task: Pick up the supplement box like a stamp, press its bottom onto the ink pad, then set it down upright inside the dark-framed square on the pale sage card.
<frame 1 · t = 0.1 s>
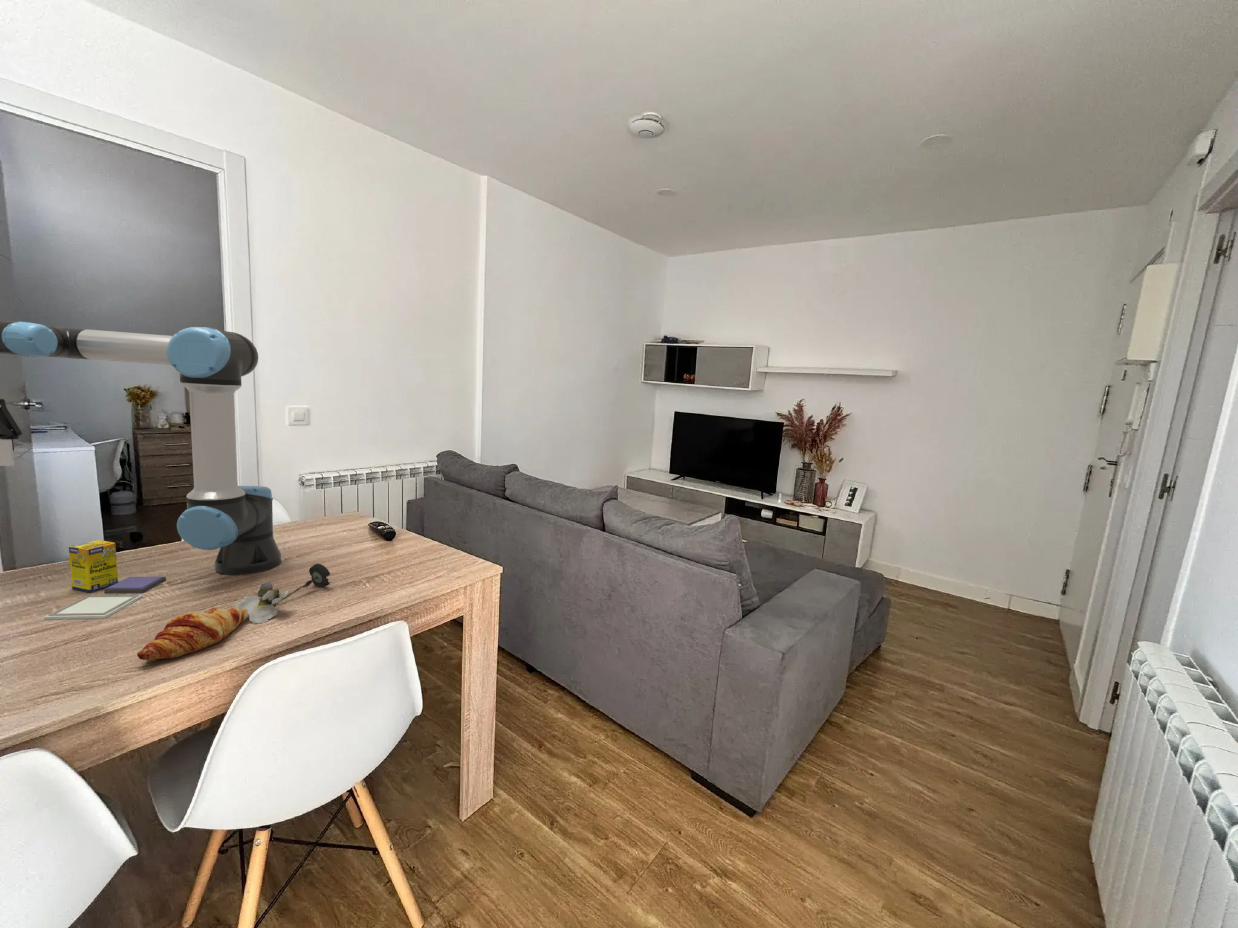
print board: (96, 607, 113), on the table
croissant: (200, 642, 102), on the table, touching artificial flower
artificial flower: (289, 604, 121), on the table, touching croissant
ink pad: (136, 586, 124), on the table
supplement box: (96, 587, 123), on the table
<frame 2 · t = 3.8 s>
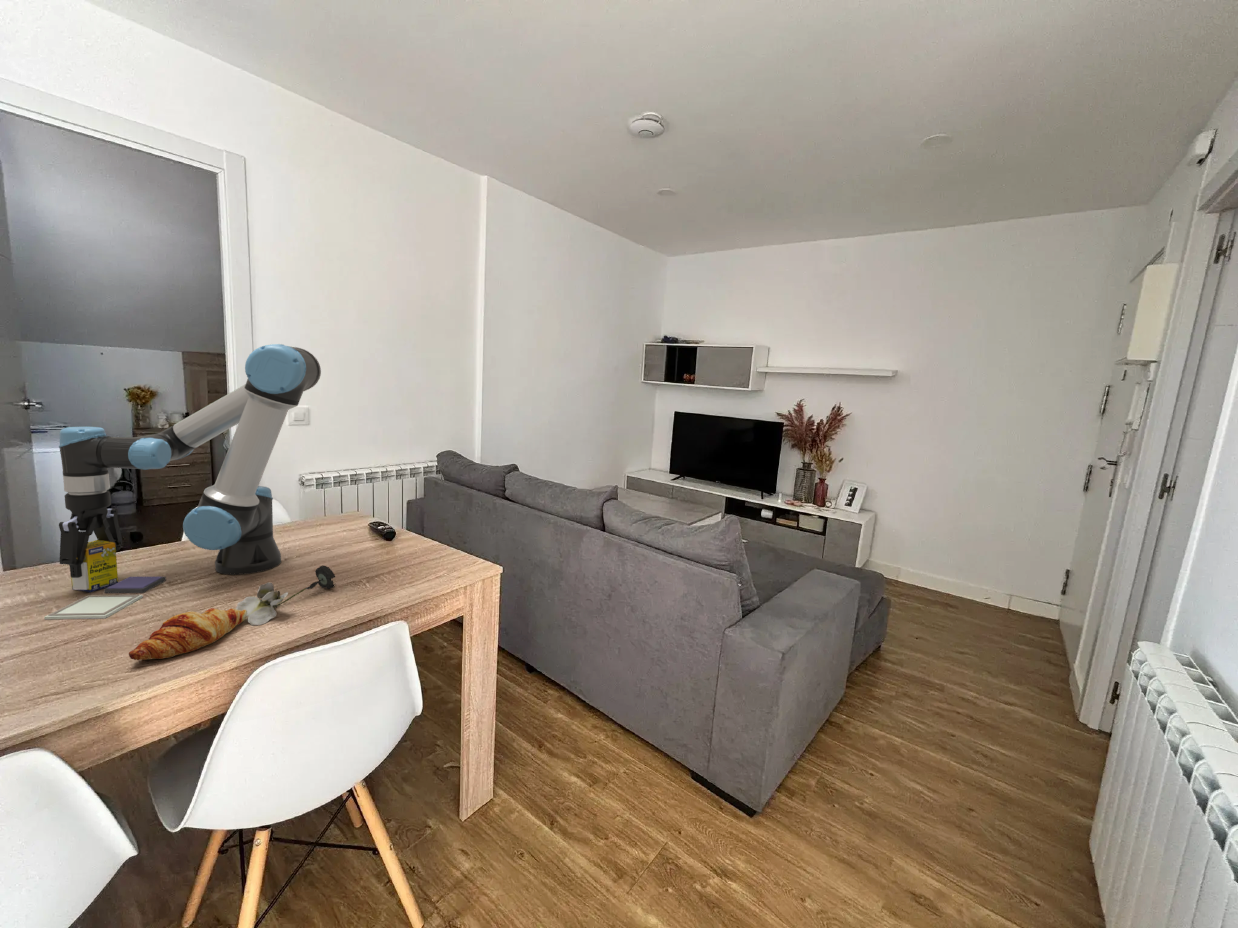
hand: (95, 582, 122), 1 cm above the table, fingers closed on supplement box, 8 cm apart
artificial flower: (291, 606, 120), on the table, touching croissant
supplement box: (96, 587, 123), on the table, touching gripper
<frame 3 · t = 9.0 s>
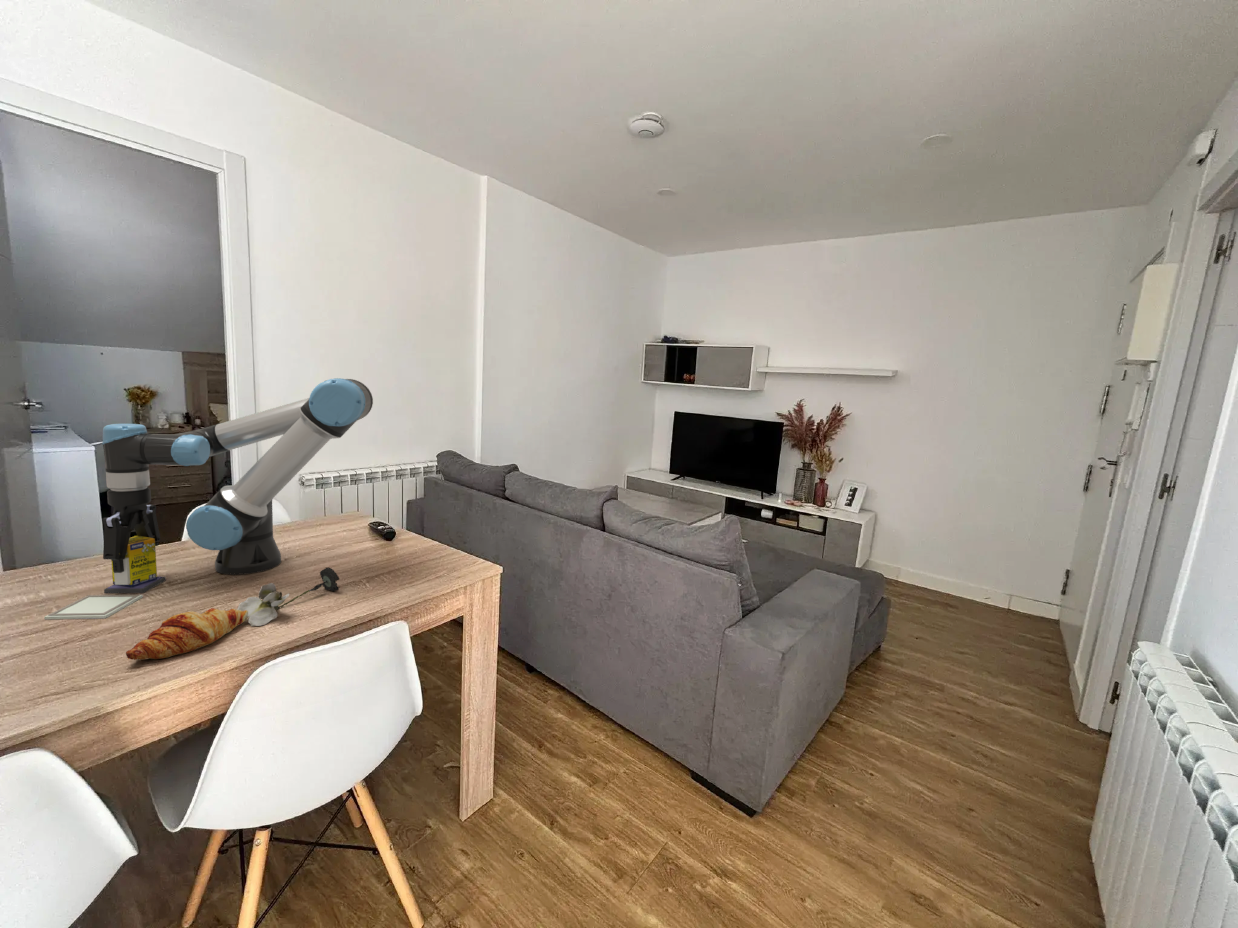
hand: (135, 577, 124), 2 cm above the table, fingers closed on supplement box, 8 cm apart
artificial flower: (294, 607, 120), on the table, touching croissant
supplement box: (135, 582, 124), point 1 cm above the table, touching gripper, ink pad
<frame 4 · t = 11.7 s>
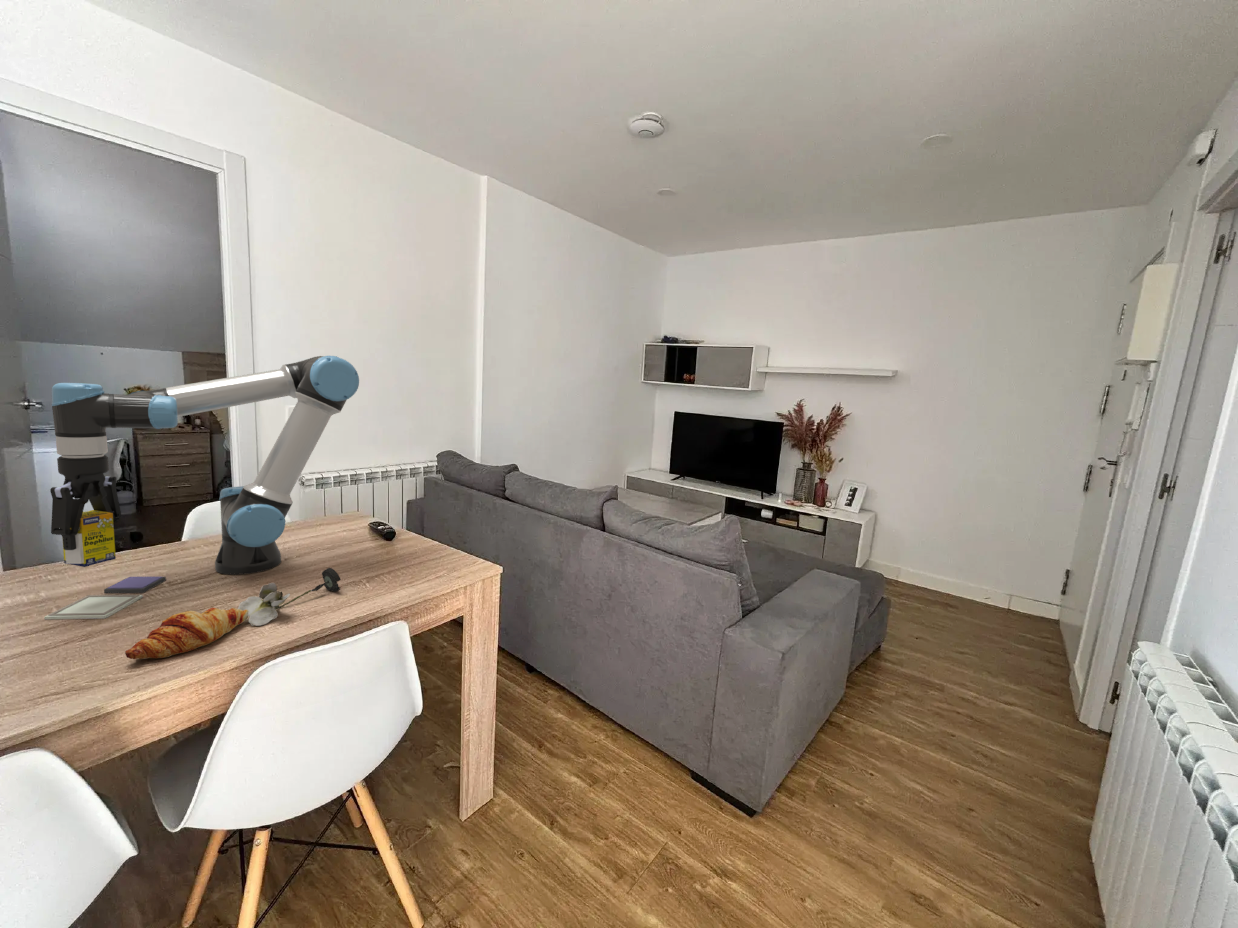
hand: (91, 556, 111), 12 cm above the table, fingers closed on supplement box, 7 cm apart
supplement box: (91, 562, 111), point 11 cm above the table, touching gripper
when the fingers open (3 cm above the table, at t = 14.0 s): supplement box drops 1 cm, resting on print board.
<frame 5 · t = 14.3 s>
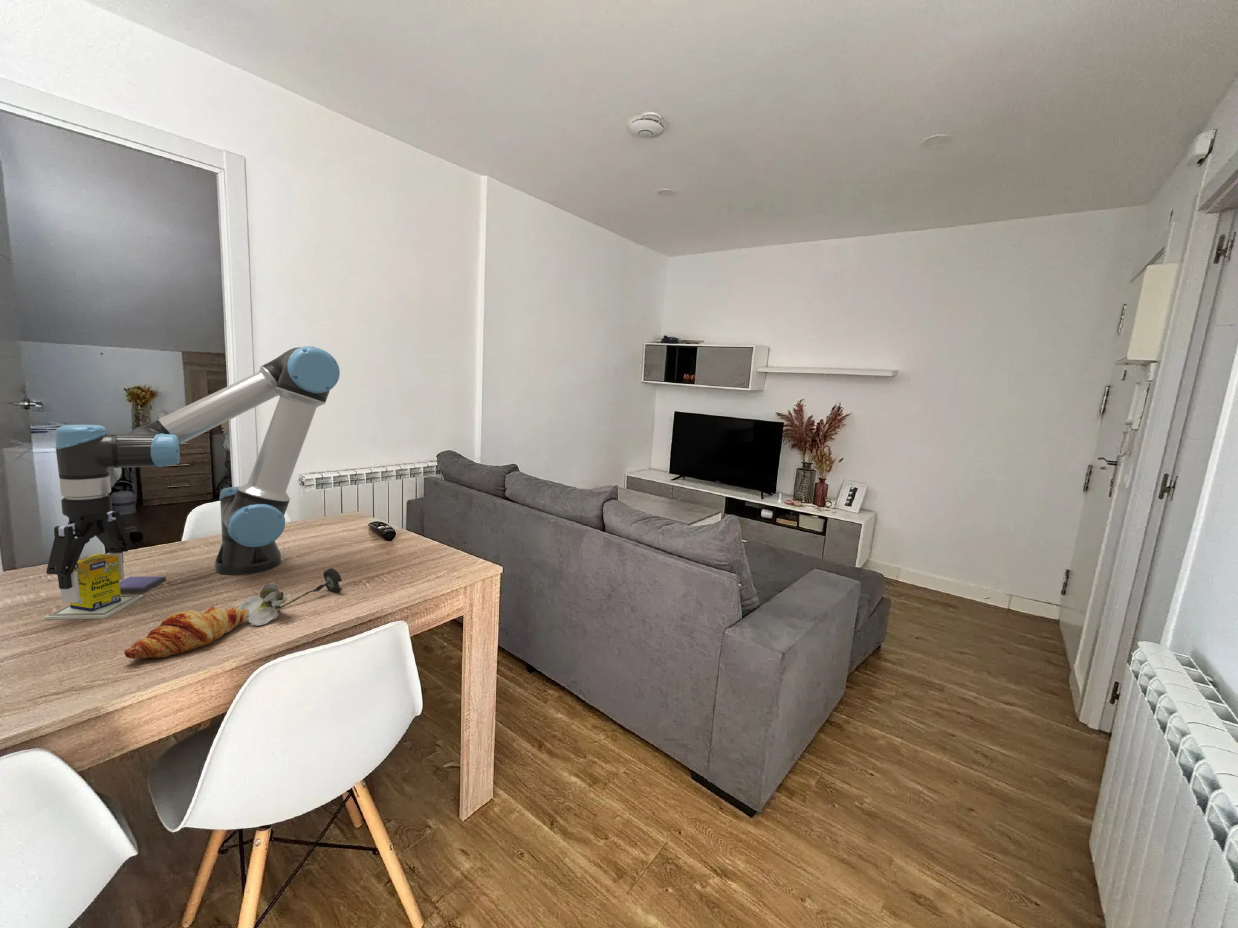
hand: (94, 590, 112), 4 cm above the table, fingers open, 11 cm apart
supplement box: (96, 605, 113), resting on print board
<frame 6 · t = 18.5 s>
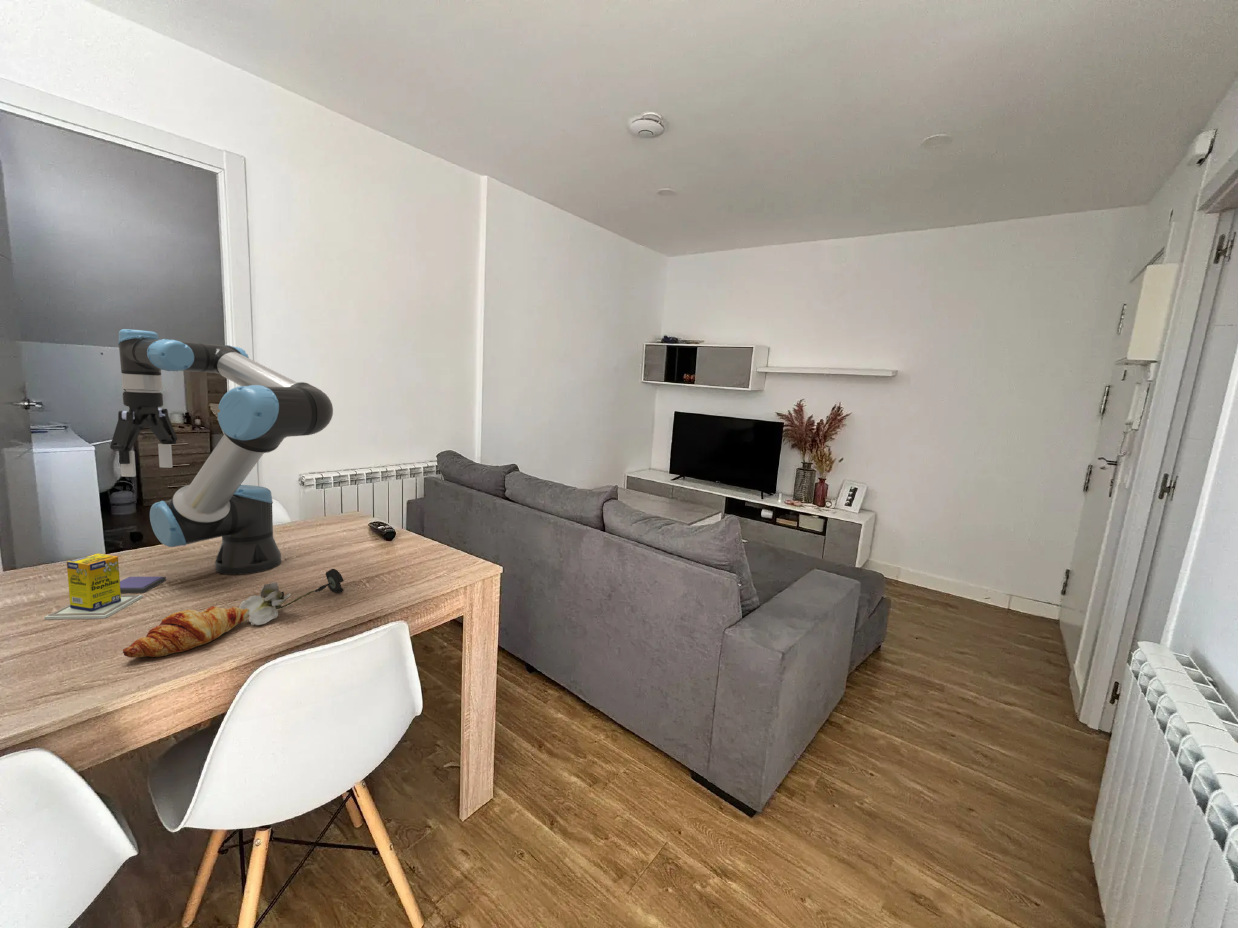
hand: (148, 471, 132), 27 cm above the table, fingers open, 13 cm apart
at the end: supplement box inside the target area on the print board (0.2 cm from its centre), point 0.4 cm above the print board's base; supplement box tilted 0°; the gripper is holding nothing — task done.
